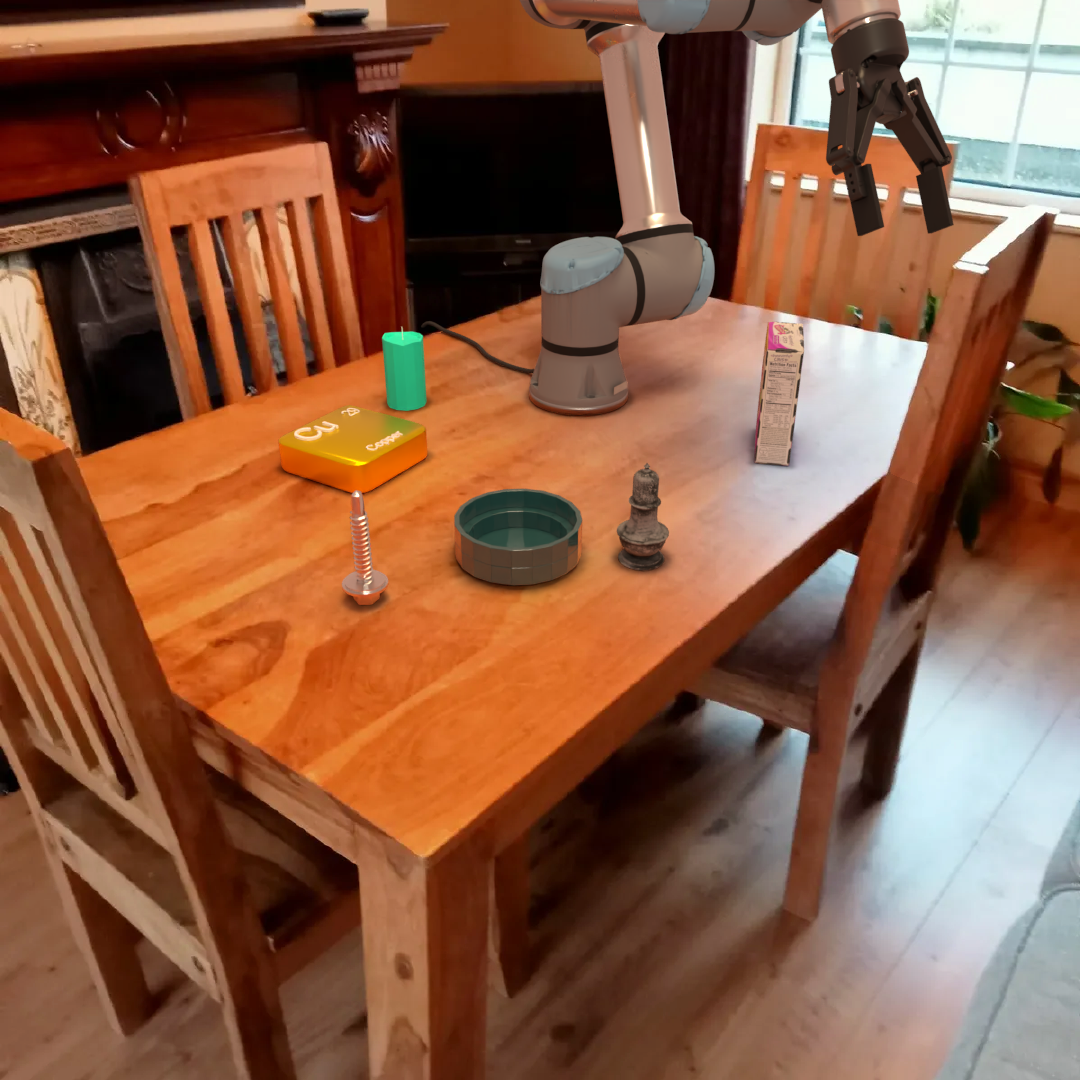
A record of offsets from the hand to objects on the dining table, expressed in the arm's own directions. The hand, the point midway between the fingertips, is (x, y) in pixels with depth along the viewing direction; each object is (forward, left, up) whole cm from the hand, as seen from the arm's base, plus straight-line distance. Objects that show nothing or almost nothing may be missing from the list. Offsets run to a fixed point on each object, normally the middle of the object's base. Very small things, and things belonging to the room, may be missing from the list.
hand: (907, 230), depth 108 cm
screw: (-38, -47, -34) cm, 70 cm away
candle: (-68, -2, -34) cm, 76 cm away
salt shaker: (-17, -24, -34) cm, 45 cm away
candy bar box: (-15, +12, -34) cm, 39 cm away
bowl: (-30, -31, -34) cm, 55 cm away
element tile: (-61, -22, -34) cm, 74 cm away
